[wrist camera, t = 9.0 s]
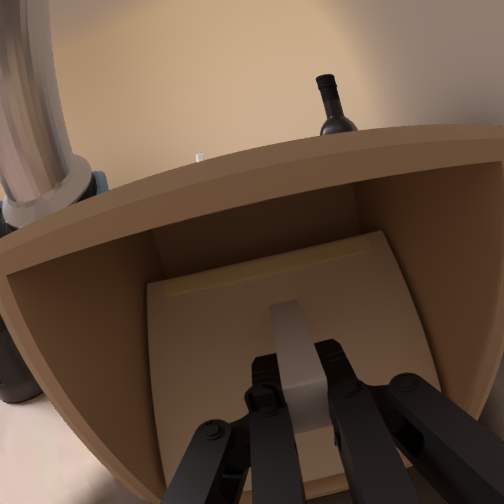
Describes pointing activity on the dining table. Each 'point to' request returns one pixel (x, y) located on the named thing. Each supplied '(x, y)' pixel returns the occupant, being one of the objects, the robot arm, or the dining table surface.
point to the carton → (250, 248)
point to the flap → (262, 339)
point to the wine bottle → (333, 107)
